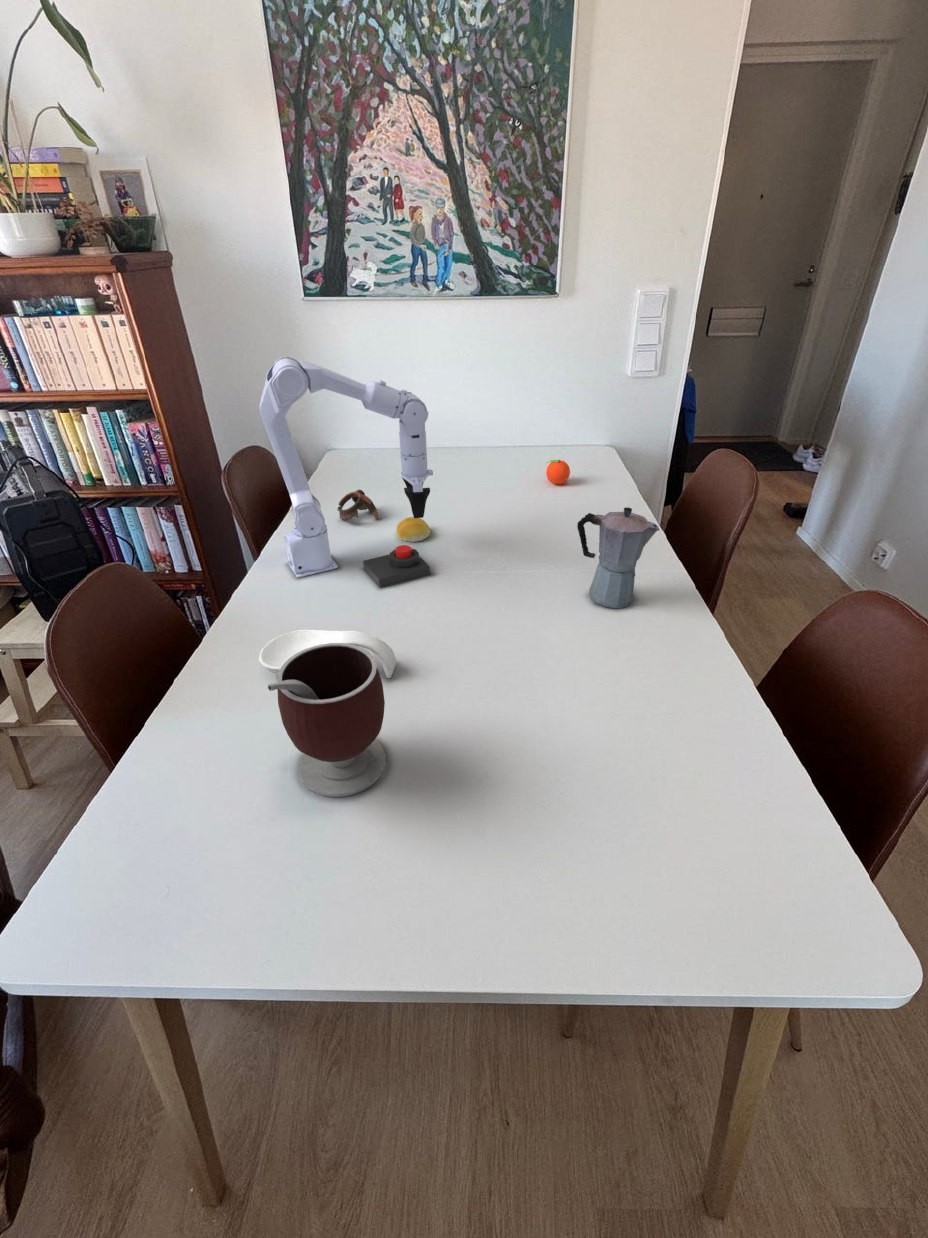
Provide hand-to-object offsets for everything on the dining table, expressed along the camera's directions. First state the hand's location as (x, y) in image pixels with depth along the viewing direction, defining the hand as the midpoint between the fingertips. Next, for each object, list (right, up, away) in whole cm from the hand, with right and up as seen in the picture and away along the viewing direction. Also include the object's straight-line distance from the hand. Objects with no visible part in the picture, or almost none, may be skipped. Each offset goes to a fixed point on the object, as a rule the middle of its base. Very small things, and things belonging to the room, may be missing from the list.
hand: (417, 510), depth 144 cm
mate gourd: (-7, -47, -53) cm, 71 cm away
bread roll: (-2, -4, +12) cm, 13 cm away
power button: (-3, -11, -5) cm, 12 cm away
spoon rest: (-13, -34, -33) cm, 49 cm away
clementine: (+38, +15, +41) cm, 58 cm away
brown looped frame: (-17, +2, +22) cm, 28 cm away
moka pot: (+41, -21, -15) cm, 48 cm away
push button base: (-4, -14, -4) cm, 15 cm away
